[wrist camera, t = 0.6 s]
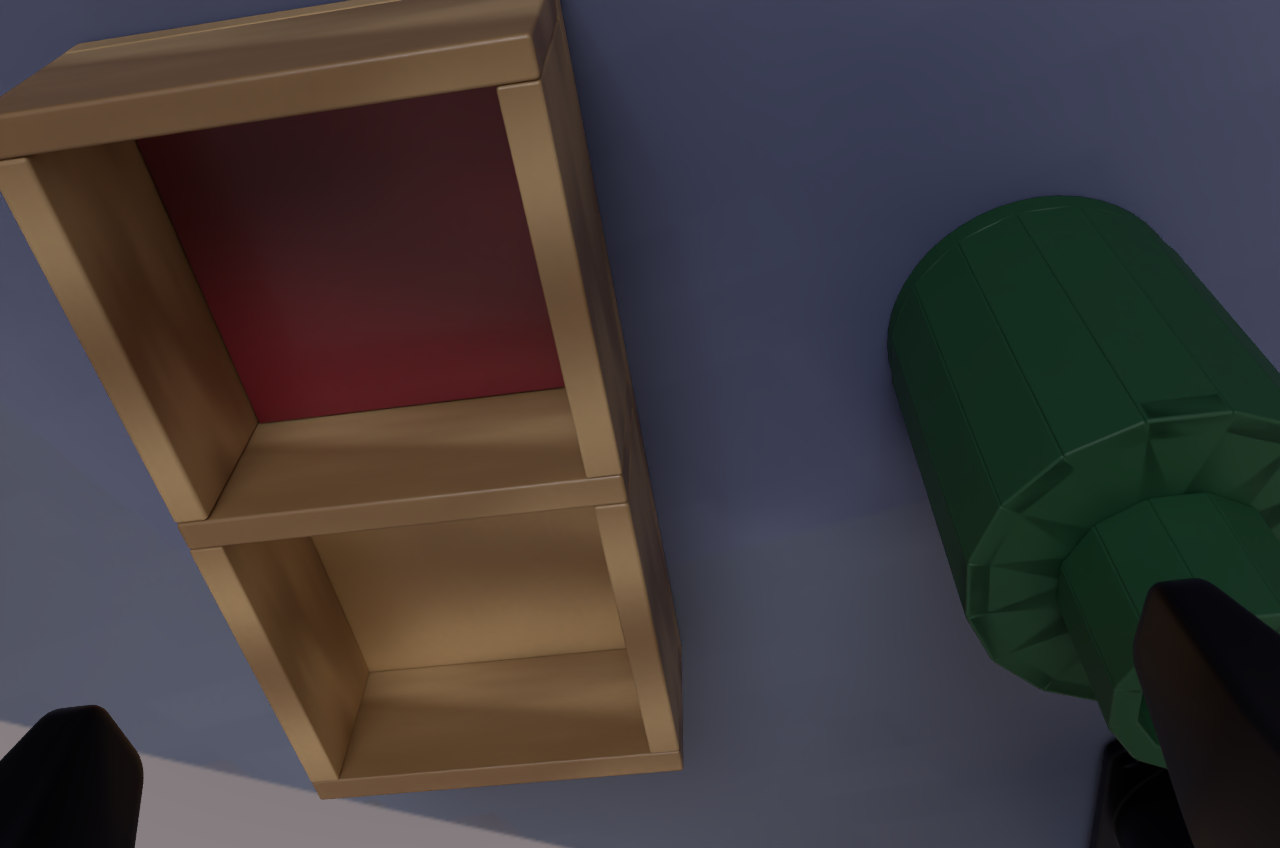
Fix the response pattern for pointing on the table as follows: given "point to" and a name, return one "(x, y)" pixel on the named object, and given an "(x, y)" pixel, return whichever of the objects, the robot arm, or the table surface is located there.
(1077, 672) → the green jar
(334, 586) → the wooden divided tray
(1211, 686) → the robot arm
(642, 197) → the table surface
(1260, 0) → the table surface
